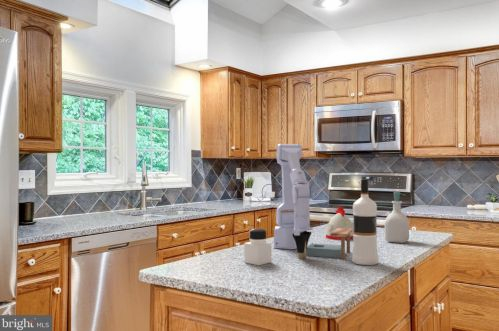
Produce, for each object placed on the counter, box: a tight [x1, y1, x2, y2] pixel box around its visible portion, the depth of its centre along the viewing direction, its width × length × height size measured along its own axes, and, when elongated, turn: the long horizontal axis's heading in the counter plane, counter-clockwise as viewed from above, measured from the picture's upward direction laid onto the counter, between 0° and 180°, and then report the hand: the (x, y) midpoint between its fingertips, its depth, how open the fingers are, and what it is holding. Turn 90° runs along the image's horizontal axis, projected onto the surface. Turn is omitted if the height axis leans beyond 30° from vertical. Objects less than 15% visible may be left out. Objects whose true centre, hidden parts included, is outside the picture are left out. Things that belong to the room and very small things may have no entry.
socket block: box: [306, 243, 341, 259], centre depth 169 cm, size 13×10×3 cm
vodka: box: [351, 178, 380, 266], centre depth 154 cm, size 9×9×30 cm
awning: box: [330, 228, 352, 260], centre depth 167 cm, size 6×14×10 cm, turn 158°
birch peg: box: [297, 242, 307, 260], centre depth 162 cm, size 3×3×8 cm
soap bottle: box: [384, 191, 410, 244], centre depth 196 cm, size 10×10×23 cm
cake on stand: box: [325, 206, 354, 241], centre depth 208 cm, size 14×14×15 cm
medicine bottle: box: [243, 228, 272, 266], centre depth 156 cm, size 7×7×12 cm
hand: (302, 251), depth 162 cm, fingers closed on birch peg, 3 cm apart
